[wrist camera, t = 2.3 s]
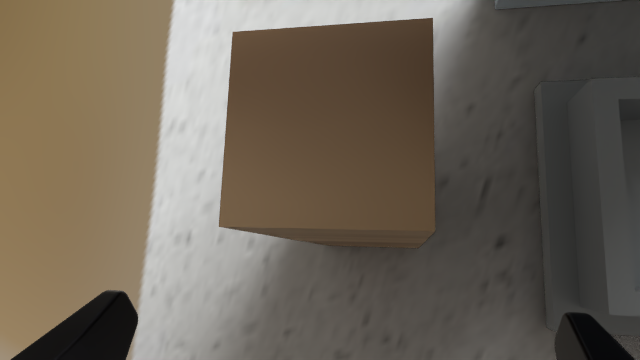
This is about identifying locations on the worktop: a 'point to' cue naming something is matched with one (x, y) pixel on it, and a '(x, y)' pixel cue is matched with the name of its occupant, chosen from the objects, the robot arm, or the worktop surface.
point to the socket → (590, 199)
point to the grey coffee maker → (538, 3)
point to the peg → (332, 134)
